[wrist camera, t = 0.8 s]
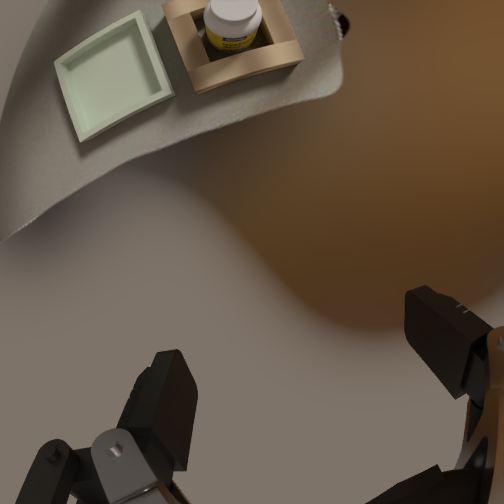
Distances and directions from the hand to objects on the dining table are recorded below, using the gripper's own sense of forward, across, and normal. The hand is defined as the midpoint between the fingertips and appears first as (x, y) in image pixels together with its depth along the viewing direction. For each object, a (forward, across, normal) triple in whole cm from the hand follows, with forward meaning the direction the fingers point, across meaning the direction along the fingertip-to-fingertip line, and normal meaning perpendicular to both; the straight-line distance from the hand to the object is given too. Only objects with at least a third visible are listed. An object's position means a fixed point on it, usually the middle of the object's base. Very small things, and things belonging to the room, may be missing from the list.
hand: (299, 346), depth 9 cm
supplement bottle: (+23, -2, -22) cm, 32 cm away
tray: (+23, +12, -22) cm, 34 cm away
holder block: (+23, -2, -22) cm, 32 cm away
